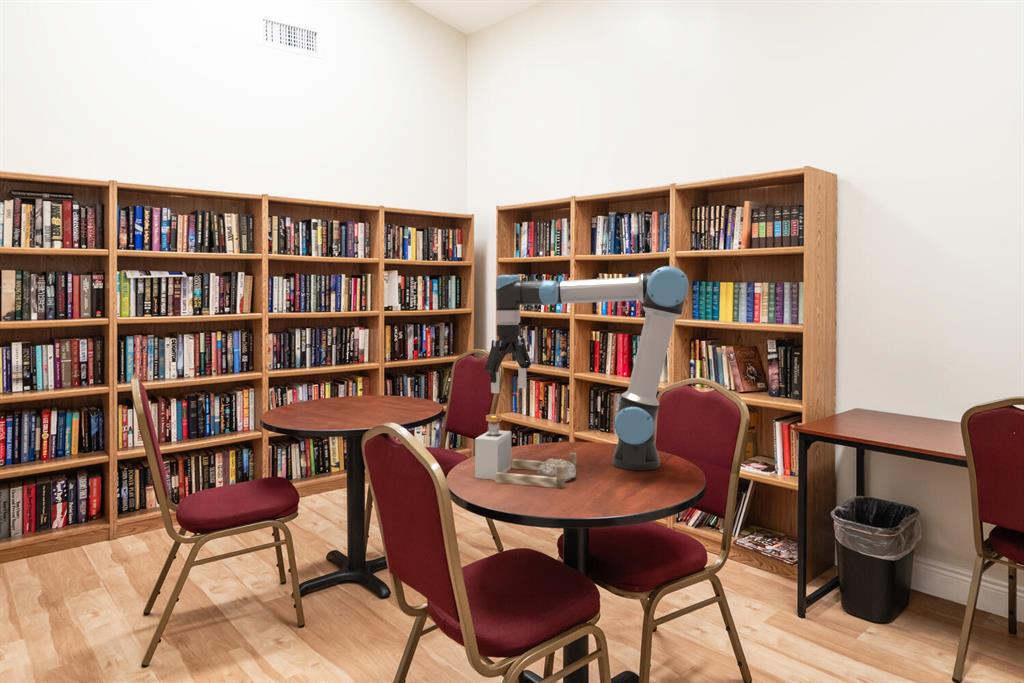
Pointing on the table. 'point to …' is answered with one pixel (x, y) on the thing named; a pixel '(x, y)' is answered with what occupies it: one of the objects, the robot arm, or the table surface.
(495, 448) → the white button box
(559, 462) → the rock
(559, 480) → the track
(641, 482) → the table surface
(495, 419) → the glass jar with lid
